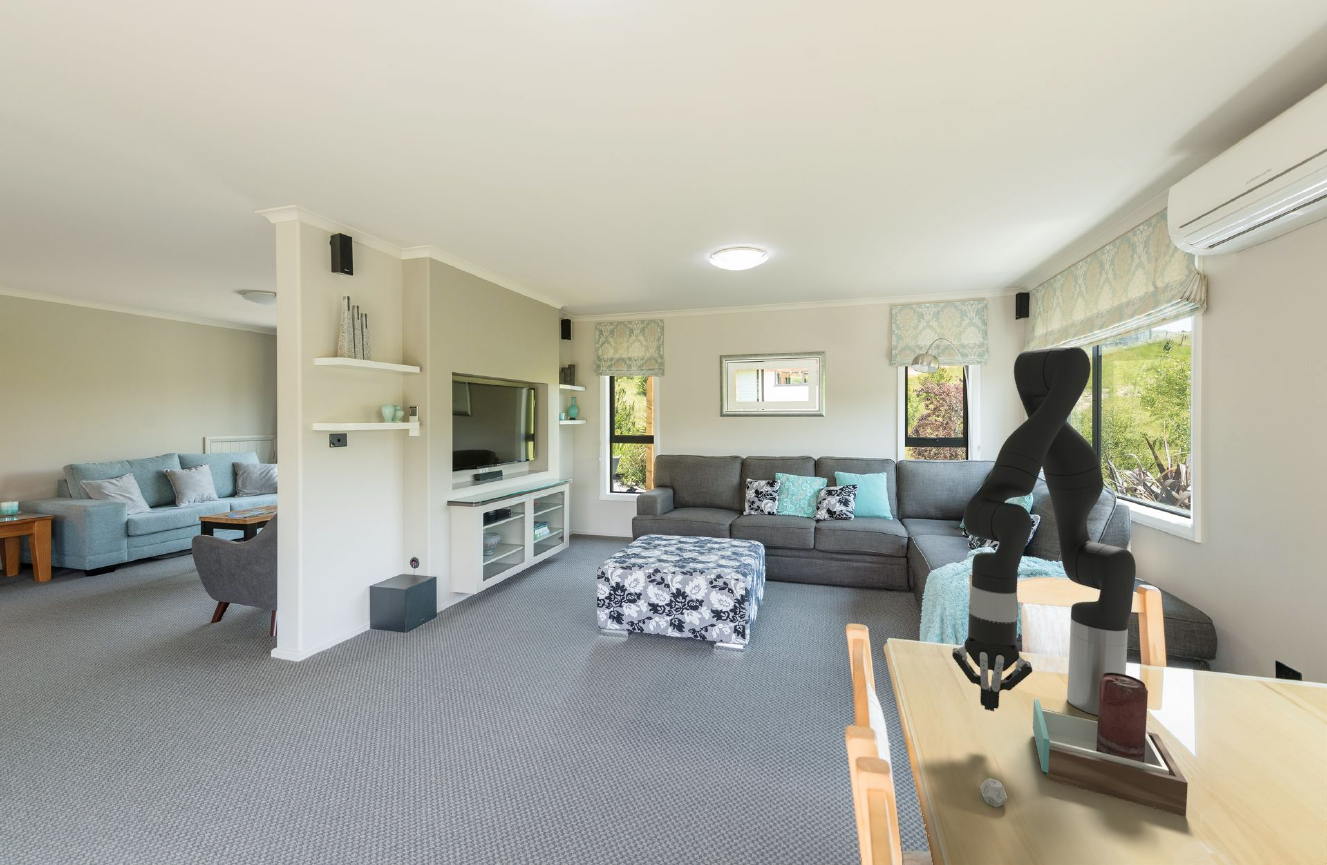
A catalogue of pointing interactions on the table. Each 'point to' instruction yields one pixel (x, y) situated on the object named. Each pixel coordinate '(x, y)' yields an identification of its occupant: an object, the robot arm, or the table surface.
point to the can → (1122, 716)
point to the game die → (993, 792)
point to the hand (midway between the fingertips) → (988, 708)
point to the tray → (1082, 740)
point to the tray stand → (1122, 778)
